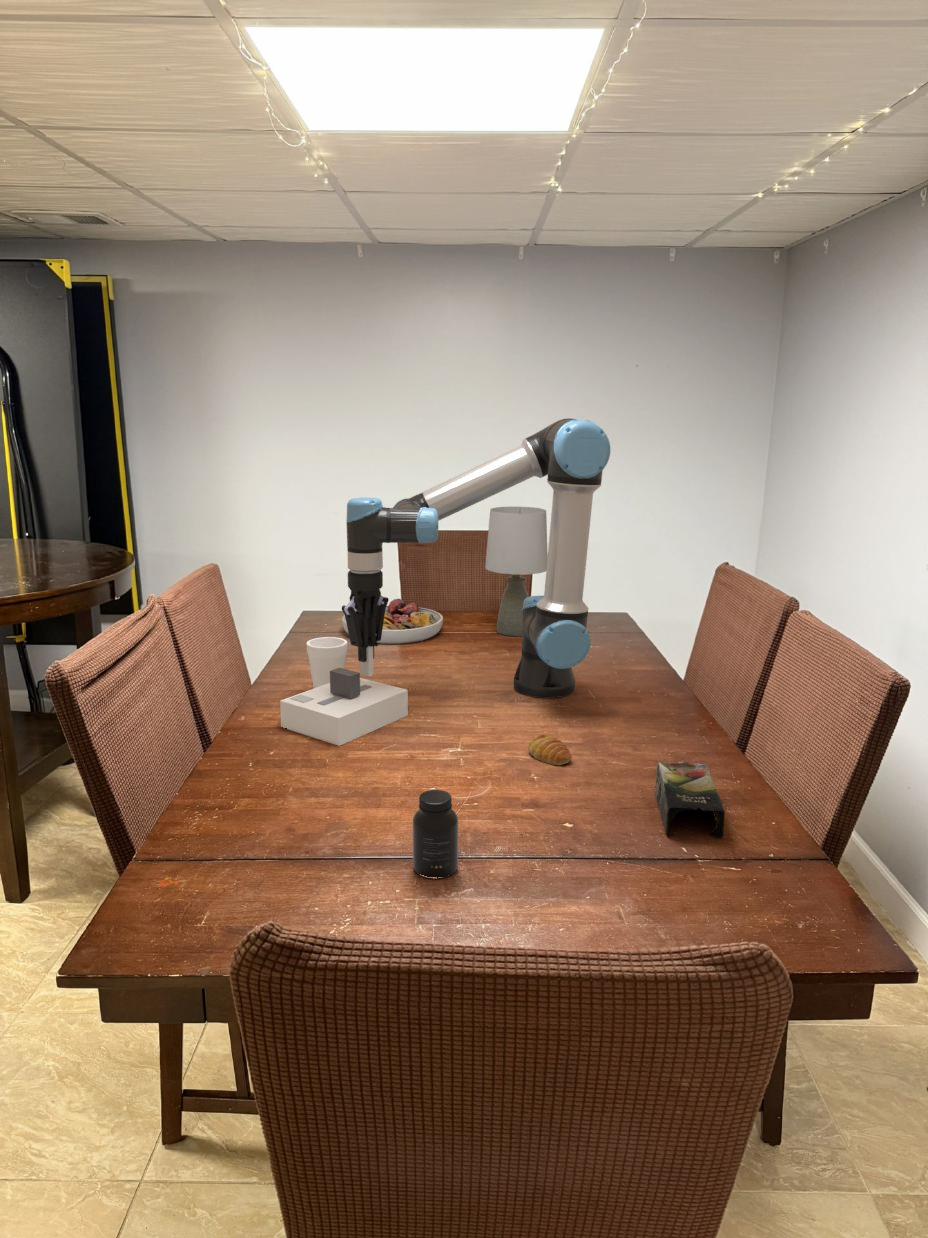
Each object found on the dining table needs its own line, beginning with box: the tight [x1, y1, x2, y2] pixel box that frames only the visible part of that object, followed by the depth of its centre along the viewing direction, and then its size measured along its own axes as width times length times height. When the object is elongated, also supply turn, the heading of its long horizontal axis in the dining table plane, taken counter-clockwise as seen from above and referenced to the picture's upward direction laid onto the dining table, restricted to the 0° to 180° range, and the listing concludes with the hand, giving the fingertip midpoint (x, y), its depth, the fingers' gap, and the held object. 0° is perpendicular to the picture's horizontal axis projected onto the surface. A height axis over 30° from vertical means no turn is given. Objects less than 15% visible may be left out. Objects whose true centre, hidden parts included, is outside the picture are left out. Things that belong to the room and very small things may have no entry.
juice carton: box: [654, 761, 726, 838], centre depth 152 cm, size 20×10×6 cm, turn 174°
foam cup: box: [306, 636, 348, 689], centre depth 206 cm, size 10×9×13 cm
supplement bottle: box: [412, 789, 459, 878], centre depth 131 cm, size 7×7×12 cm
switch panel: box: [279, 677, 409, 747], centre depth 191 cm, size 17×22×6 cm
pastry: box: [527, 733, 572, 766], centre depth 174 cm, size 9×7×4 cm
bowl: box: [341, 598, 444, 645], centre depth 263 cm, size 30×30×8 cm
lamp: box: [484, 506, 548, 637], centre depth 261 cm, size 19×19×37 cm
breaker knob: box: [330, 668, 361, 699], centre depth 190 cm, size 6×3×5 cm, turn 54°
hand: (366, 674), depth 195 cm, fingers closed
